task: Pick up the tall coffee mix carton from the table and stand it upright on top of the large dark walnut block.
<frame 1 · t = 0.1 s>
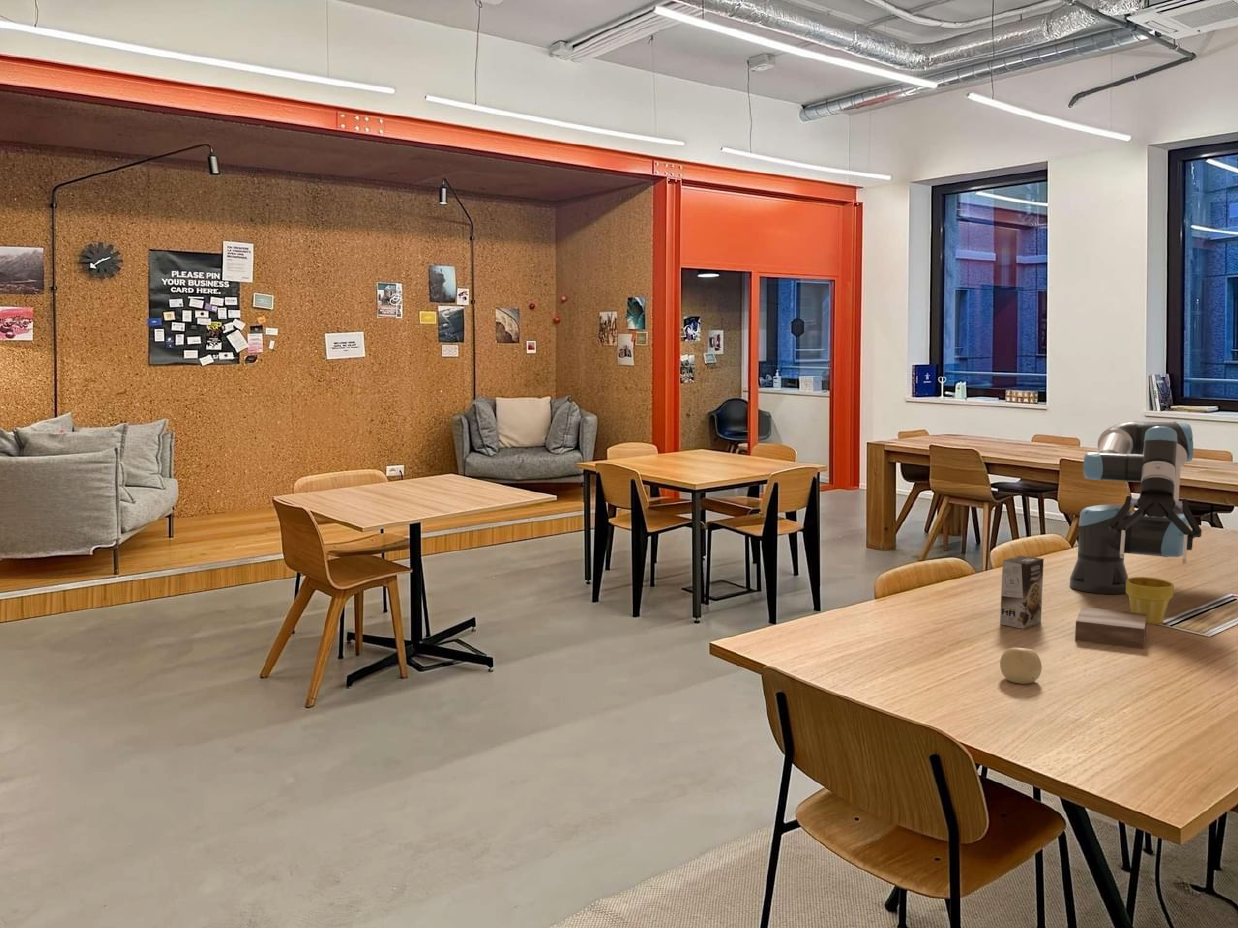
hand: (1152, 558, 244), 15 cm above the table, tool tilted 35°, fingers open, 13 cm apart
plant pot: (1147, 621, 245), on the table
coffee box: (1020, 624, 244), on the table
walnut block: (1110, 638, 232), on the table
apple: (1020, 681, 203), on the table
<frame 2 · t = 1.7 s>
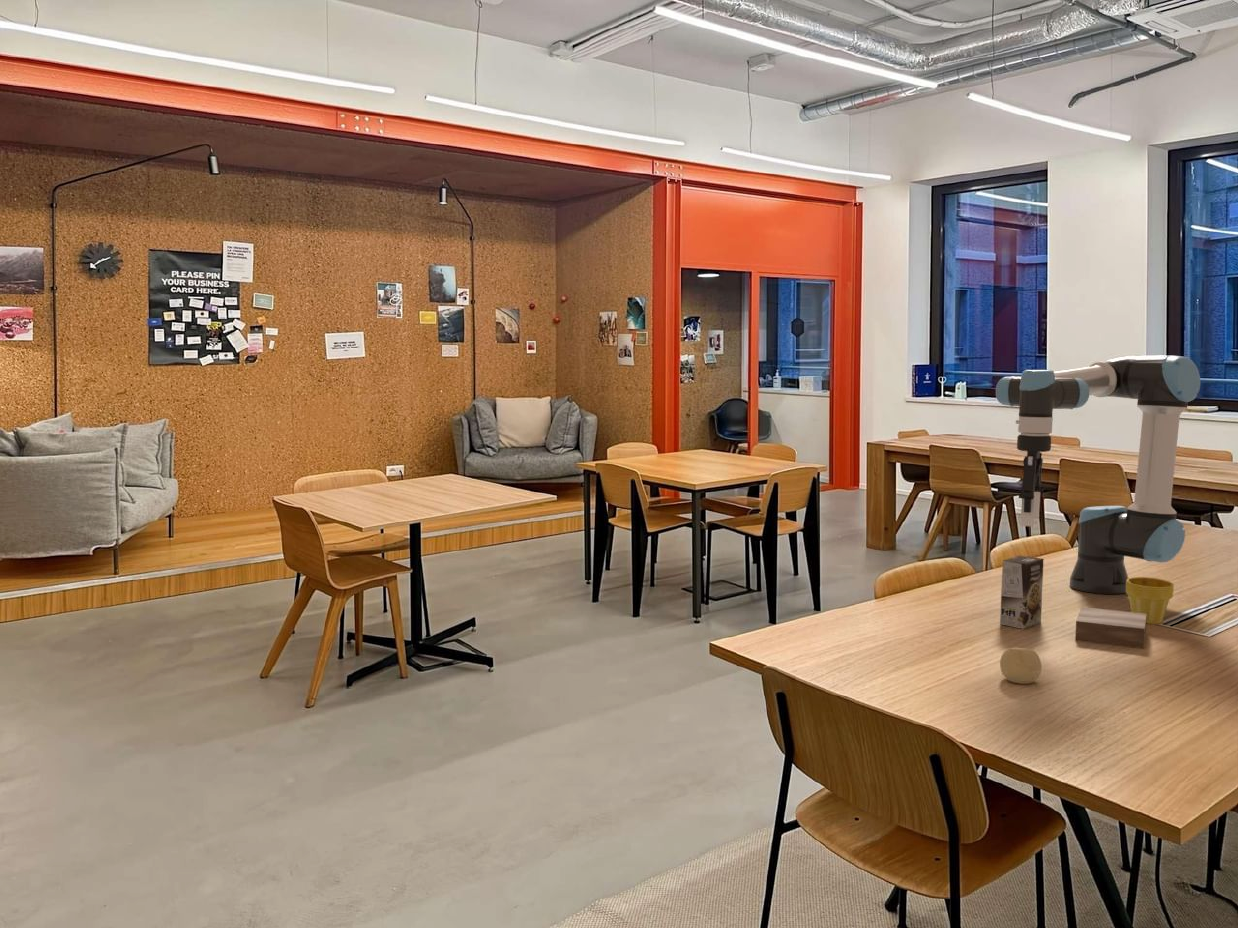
hand: (1029, 521, 240), 25 cm above the table, tool pointing down, fingers open, 13 cm apart
nothing on the table moved.
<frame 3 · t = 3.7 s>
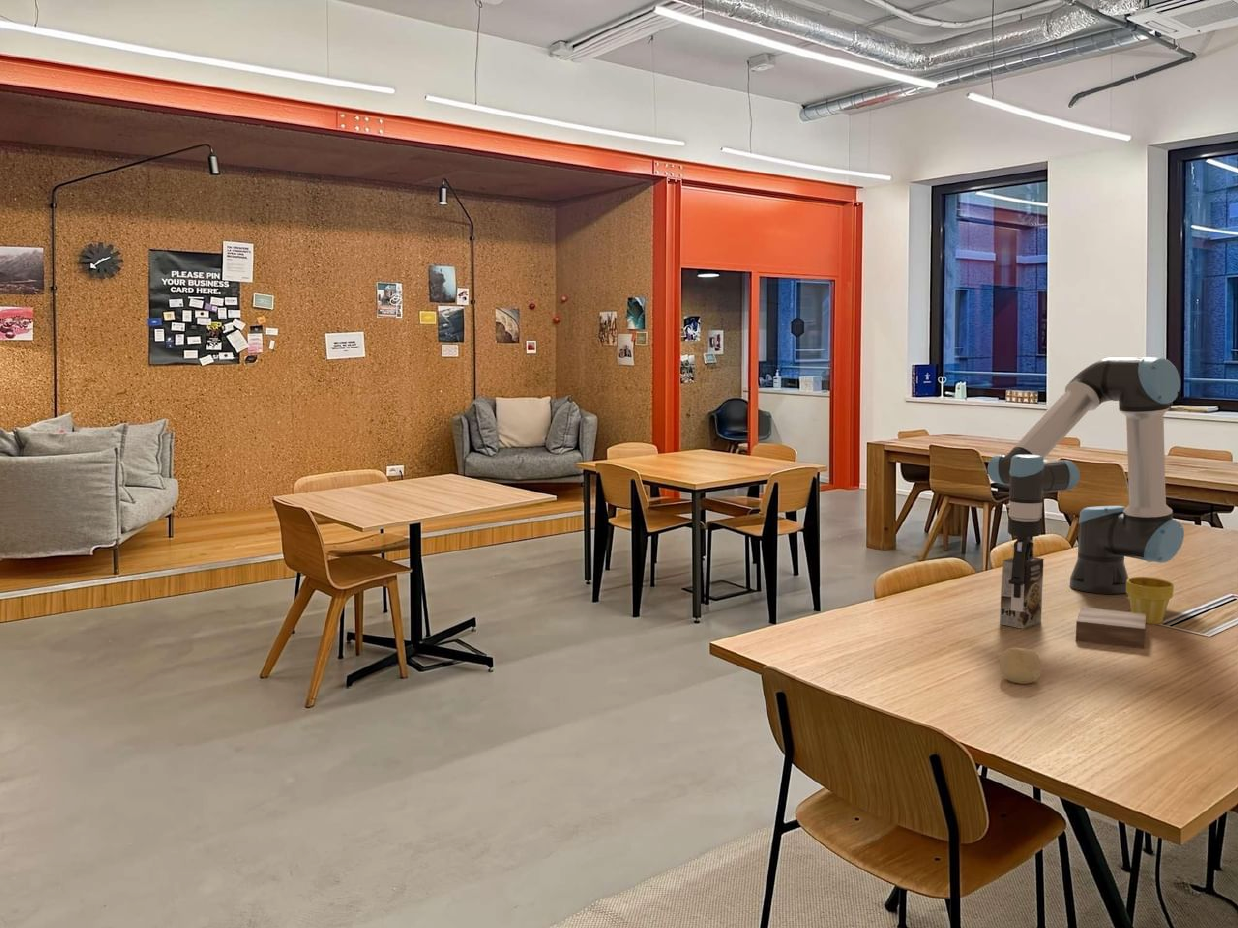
hand: (1021, 604, 243), 5 cm above the table, tool pointing down, fingers open, 13 cm apart
nothing on the table moved.
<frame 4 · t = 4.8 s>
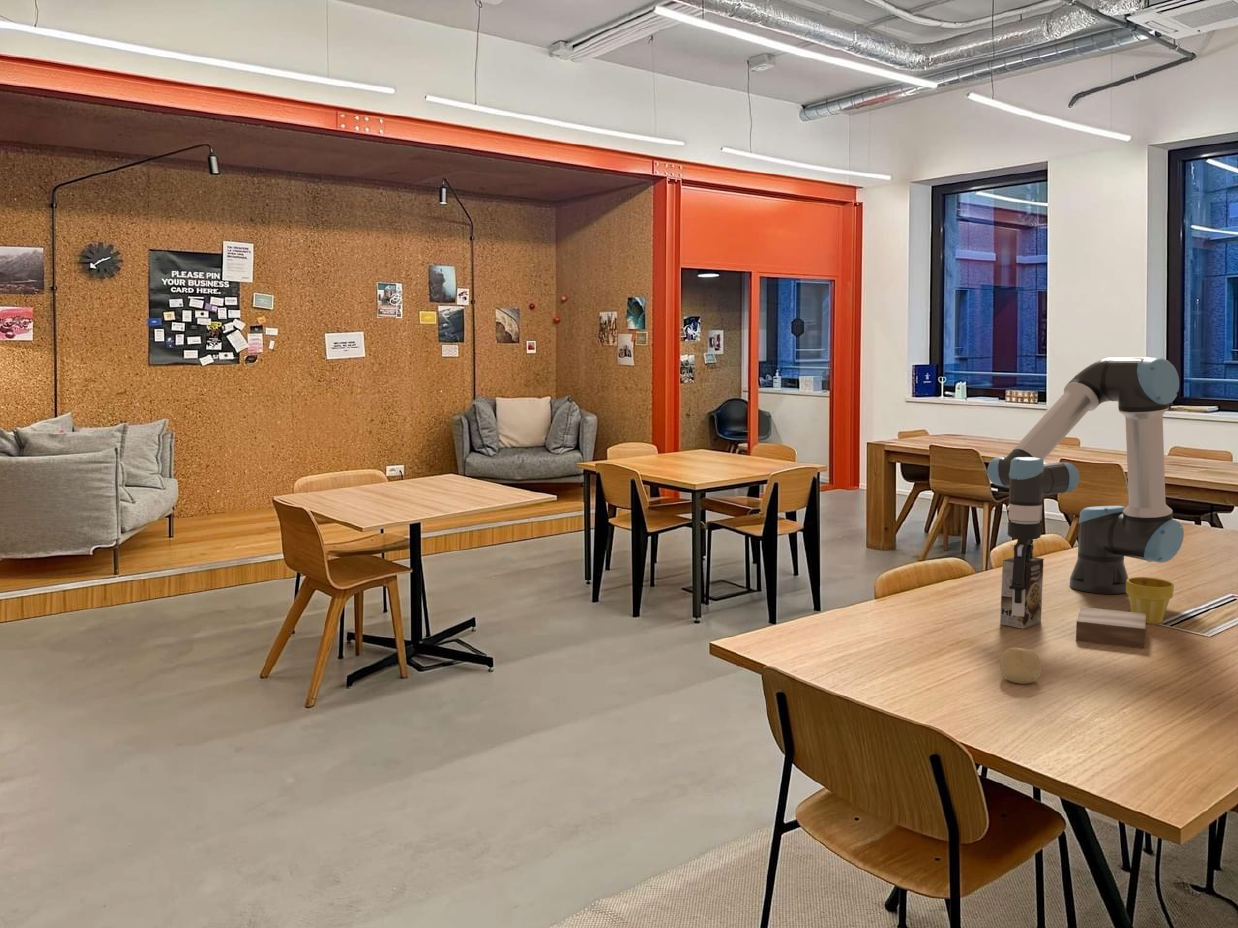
hand: (1021, 610, 243), 3 cm above the table, tool pointing down, fingers closed on coffee box, 10 cm apart
coffee box: (1020, 624, 243), on the table, touching gripper
everything else where it was.
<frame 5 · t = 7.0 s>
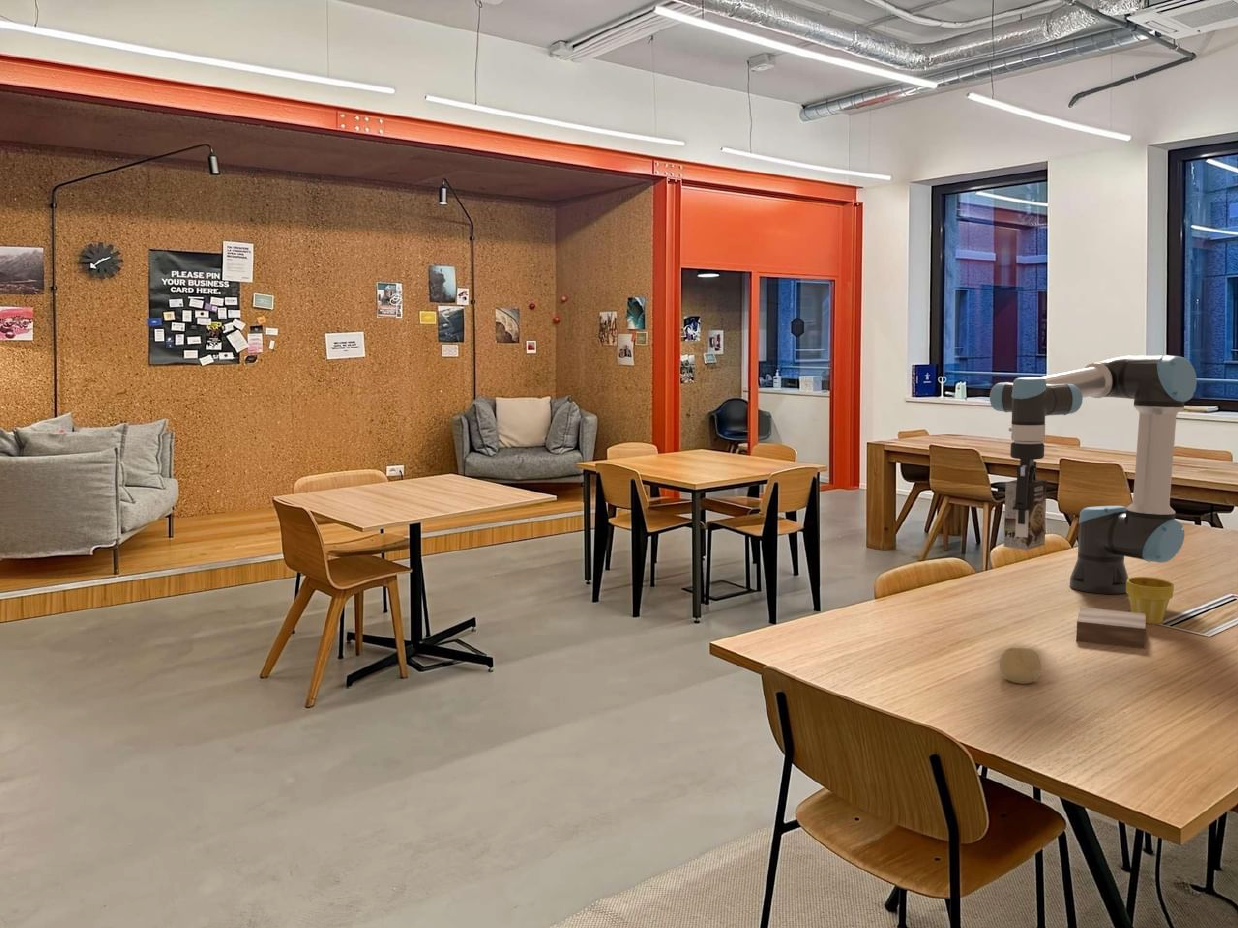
hand: (1024, 532, 241), 23 cm above the table, tool pointing down, fingers closed on coffee box, 10 cm apart
coffee box: (1024, 546, 241), point 19 cm above the table, touching gripper
everything else where it was.
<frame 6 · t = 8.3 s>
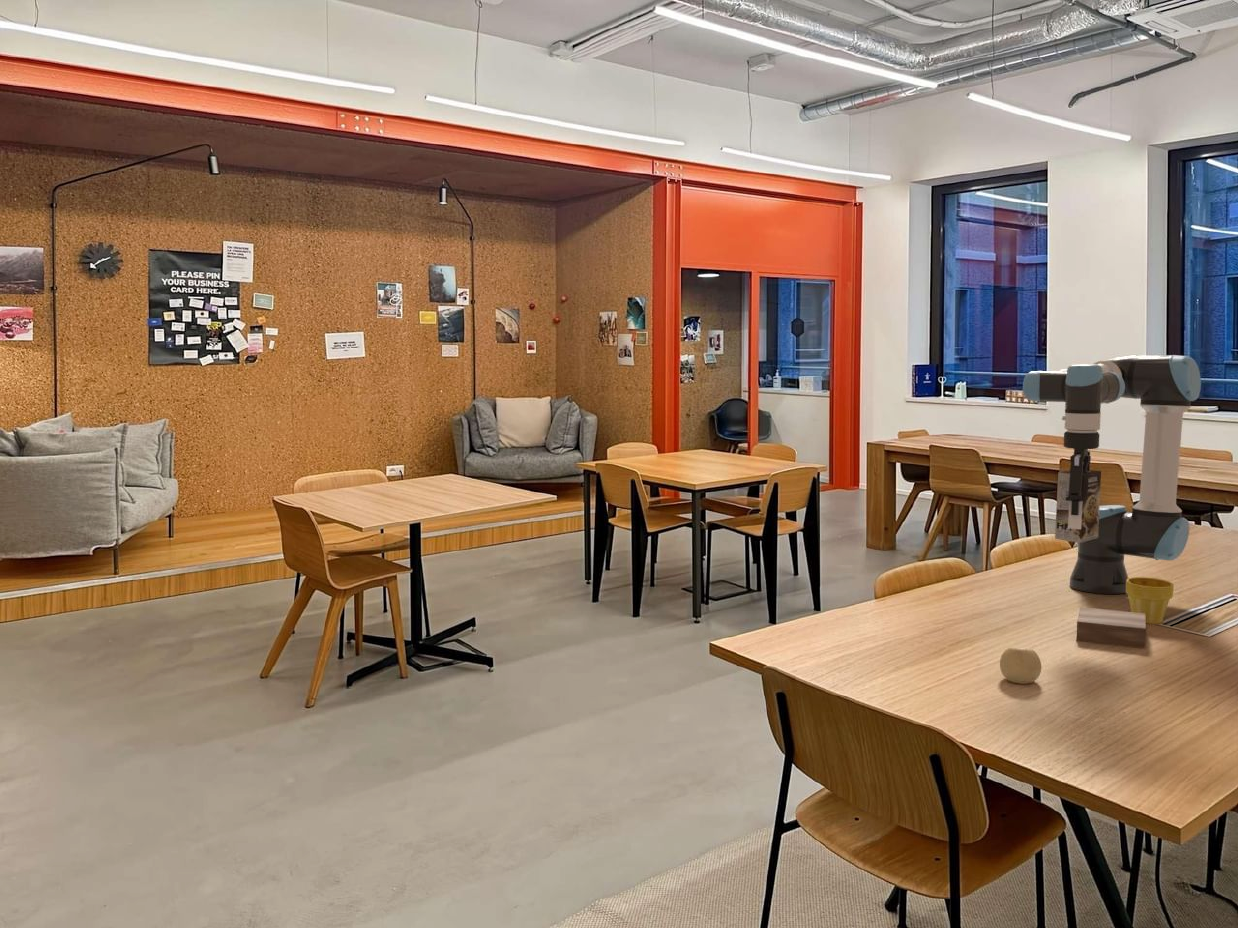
hand: (1077, 524, 233), 26 cm above the table, tool pointing down, fingers closed on coffee box, 10 cm apart
coffee box: (1076, 539, 234), point 22 cm above the table, touching gripper
everything else where it was.
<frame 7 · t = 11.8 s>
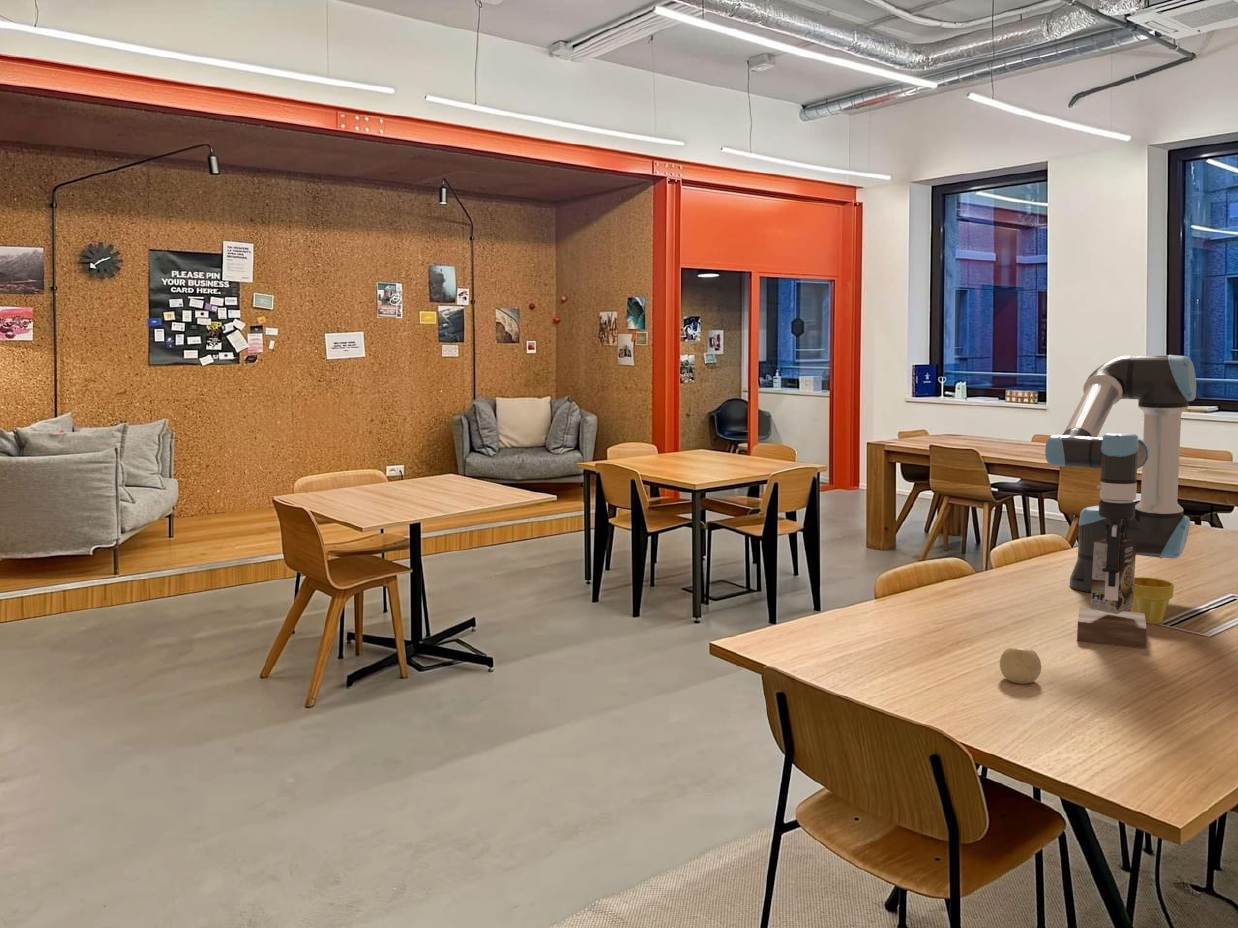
hand: (1112, 594, 231), 10 cm above the table, tool pointing down, fingers closed on coffee box, 10 cm apart
coffee box: (1111, 609, 231), point 7 cm above the table, touching gripper
everything else where it was.
when the fingers open (10 cm above the table, at t = 12.9 s): coffee box drops 2 cm, point 4 cm above the table.
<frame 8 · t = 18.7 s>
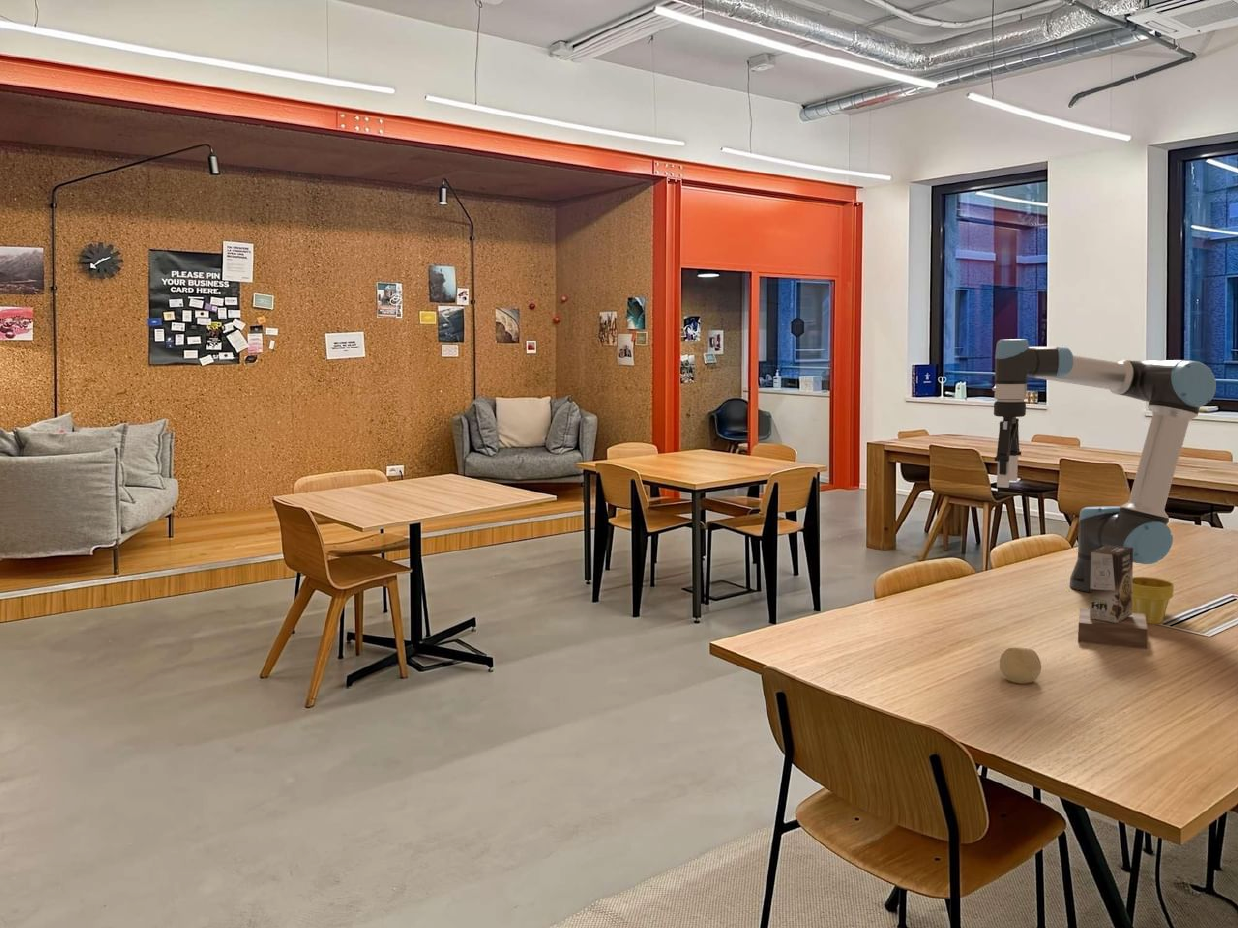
hand: (1007, 484, 253), 33 cm above the table, tool pointing down, fingers open, 13 cm apart
coffee box: (1111, 617, 231), point 4 cm above the table
everything else where it was.
at the end: coffee box inside the target area on the walnut block (0.4 cm from its centre), point 5.0 cm above the walnut block's base; coffee box tilted 3°; the gripper is holding nothing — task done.
